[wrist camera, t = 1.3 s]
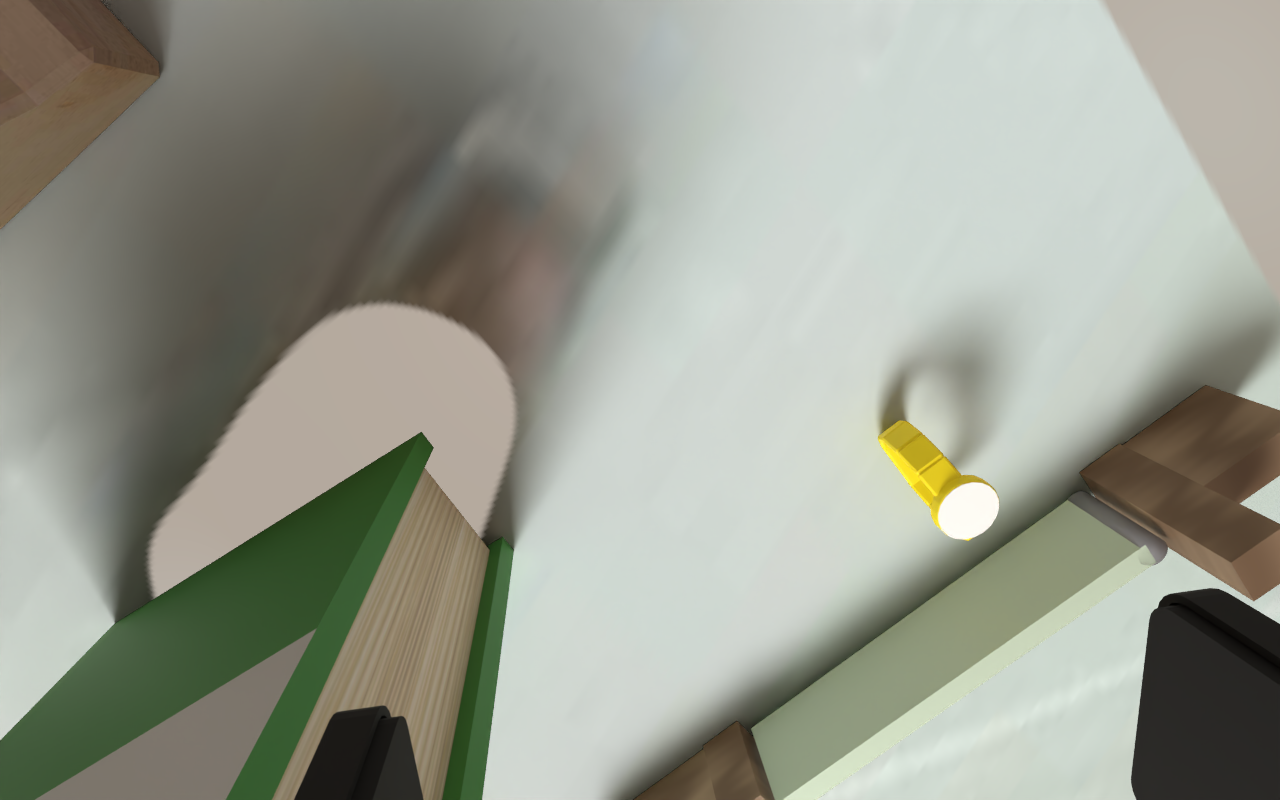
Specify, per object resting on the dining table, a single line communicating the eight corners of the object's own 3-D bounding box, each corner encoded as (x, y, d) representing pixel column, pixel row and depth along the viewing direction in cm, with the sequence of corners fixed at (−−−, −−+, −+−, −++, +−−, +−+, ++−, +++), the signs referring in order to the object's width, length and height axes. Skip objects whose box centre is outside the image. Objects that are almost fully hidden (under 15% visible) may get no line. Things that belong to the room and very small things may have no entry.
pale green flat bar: (1084, 485, 37) (1159, 532, 33) (1105, 518, 38) (1182, 568, 33) (749, 727, 40) (775, 802, 35) (776, 753, 41) (804, 831, 36)
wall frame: (1203, 382, 37) (1397, 447, 28) (1222, 416, 37) (1417, 490, 29) (592, 825, 41) (599, 996, 33) (619, 848, 42) (633, 1021, 34)
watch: (955, 477, 37) (1029, 539, 32) (910, 510, 38) (976, 577, 32) (897, 395, 35) (966, 446, 30) (850, 430, 36) (910, 487, 30)
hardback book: (421, 431, 33) (122, 995, 11) (513, 550, 36) (427, 1222, 13) (114, 623, 35) (-728, 1483, 12) (222, 726, 37) (-315, 1611, 14)
